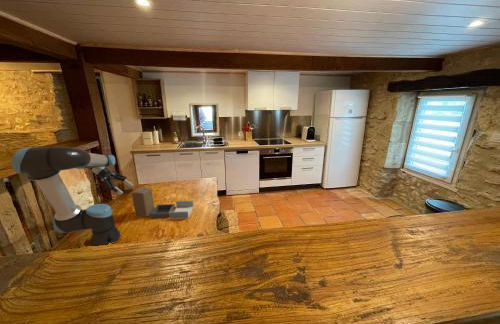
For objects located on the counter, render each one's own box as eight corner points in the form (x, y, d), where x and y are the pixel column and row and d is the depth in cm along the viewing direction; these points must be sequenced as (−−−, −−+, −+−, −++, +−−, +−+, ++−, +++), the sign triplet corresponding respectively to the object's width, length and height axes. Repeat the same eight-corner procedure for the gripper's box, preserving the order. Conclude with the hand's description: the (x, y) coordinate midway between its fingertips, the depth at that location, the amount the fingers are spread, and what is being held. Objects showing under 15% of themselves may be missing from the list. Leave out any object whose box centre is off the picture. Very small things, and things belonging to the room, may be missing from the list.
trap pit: (151, 218, 149) (150, 213, 148) (157, 209, 162) (157, 204, 160) (169, 217, 149) (168, 213, 148) (175, 208, 162) (174, 204, 161)
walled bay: (170, 219, 147) (169, 212, 146) (177, 207, 165) (176, 200, 163) (188, 218, 148) (187, 212, 146) (193, 206, 165) (192, 200, 164)
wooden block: (147, 218, 149) (142, 193, 143) (135, 216, 151) (130, 192, 145) (155, 211, 159) (151, 187, 153) (144, 209, 160) (140, 186, 155)
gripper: (109, 168, 156) (132, 186, 161) (85, 181, 132) (114, 201, 137) (114, 162, 154) (138, 179, 160) (92, 173, 131) (120, 193, 136)
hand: (127, 189), depth 148 cm, fingers open, 13 cm apart
